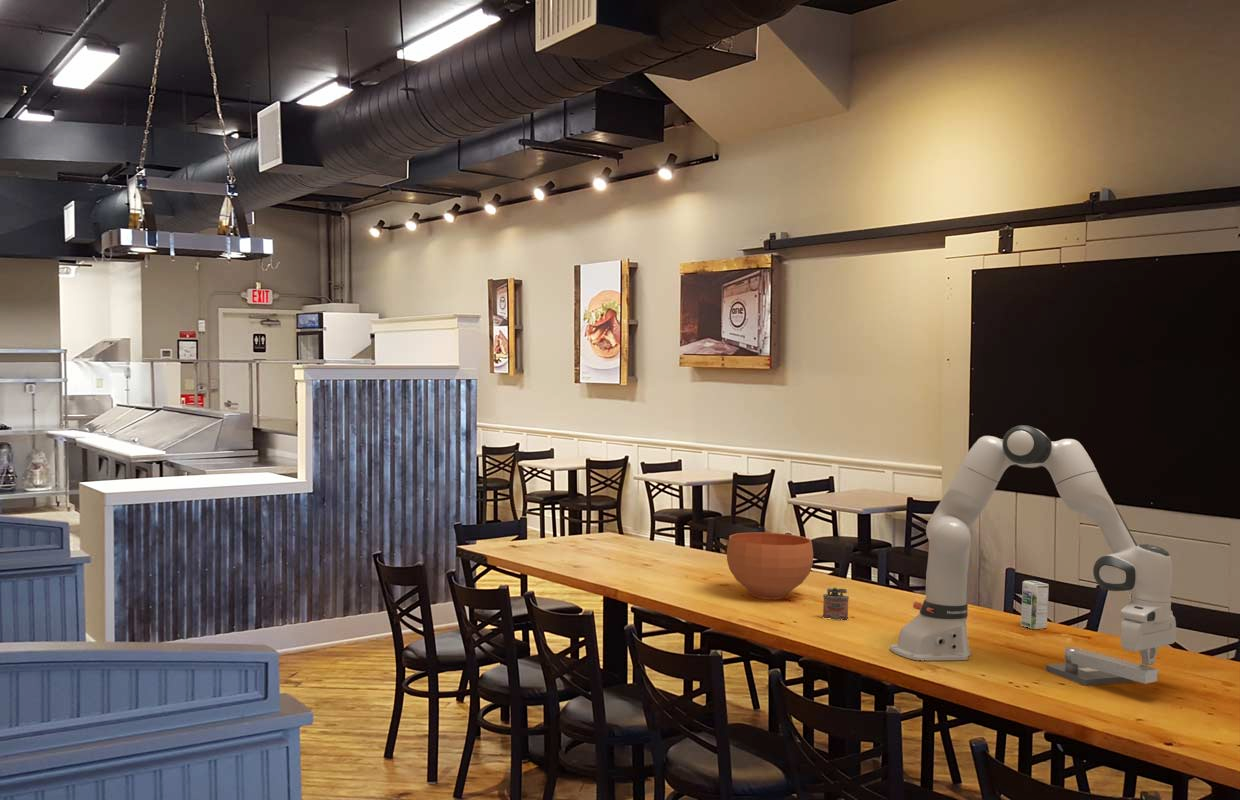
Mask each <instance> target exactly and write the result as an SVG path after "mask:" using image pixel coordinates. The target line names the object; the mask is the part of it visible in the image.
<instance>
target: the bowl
mask: <svg viewBox="0 0 1240 800" xmlns="http://www.w3.org/2000/svg"><path fill="white" fill-rule="evenodd" d="M813 547H814V546H813V542H812V540H811V538H808V537H805V536H801V535H796V534H787V533H778V532H761V531H759V532H757V531H756V532H738V533H734V534H731V535H729V538H728V543H727V548H726V561H727V564H728V568H729V571H730V573H731V574H732V575H733V577H734V578H735V580H736V581H737V582H738V583H740V584H741V586H743V587H744V588H745V589H747V591H749V592H750V593H751V594H752V595H753V596H755V597H758V598H757V599H759V598H765V599H764V600H766V599H779V600H783V599H785V596H786V595H787V594H789V593H790V592H792V591H793V590H794V589H796V588H798V586H800V585H801V584H803V583H804V581H805V580H806V579H807V577H809V575H810V573H811V570H812V567H813V564H814V563H813V562H814V549H813ZM753 596H752V597H753ZM755 597H754V598H755ZM782 598H783V599H782Z"/></svg>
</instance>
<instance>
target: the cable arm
mask: <svg viewBox="0 0 1240 800" xmlns="http://www.w3.org/2000/svg"><path fill="white" fill-rule="evenodd" d="M1064 661H1065V662H1066V661H1069V662H1071V663H1073V664H1077V665H1080V666H1084V667H1087V668H1091V669H1095V670H1098V671H1102V672H1105V673H1109V674H1112V675H1116V676H1120V677H1123V678H1127V679H1130V680H1134V681H1133V682H1138V683H1141V684H1144V685H1145V684H1150V683H1155V682H1158V679H1157V675H1158V676H1159V672H1158V669H1159V668H1155V667H1153V666H1150V665H1148V666H1147V665H1143V664H1142V663H1141V664H1140V663H1137V662H1133V661H1129V660H1126V659H1125V660H1124V659H1122V658H1118V657H1115V656H1110V655H1106V654H1103V653H1099V652H1095V651H1091V650H1087V649H1083V648H1082V649H1080V648H1077V647H1073V646H1066V647H1064Z"/></svg>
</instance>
